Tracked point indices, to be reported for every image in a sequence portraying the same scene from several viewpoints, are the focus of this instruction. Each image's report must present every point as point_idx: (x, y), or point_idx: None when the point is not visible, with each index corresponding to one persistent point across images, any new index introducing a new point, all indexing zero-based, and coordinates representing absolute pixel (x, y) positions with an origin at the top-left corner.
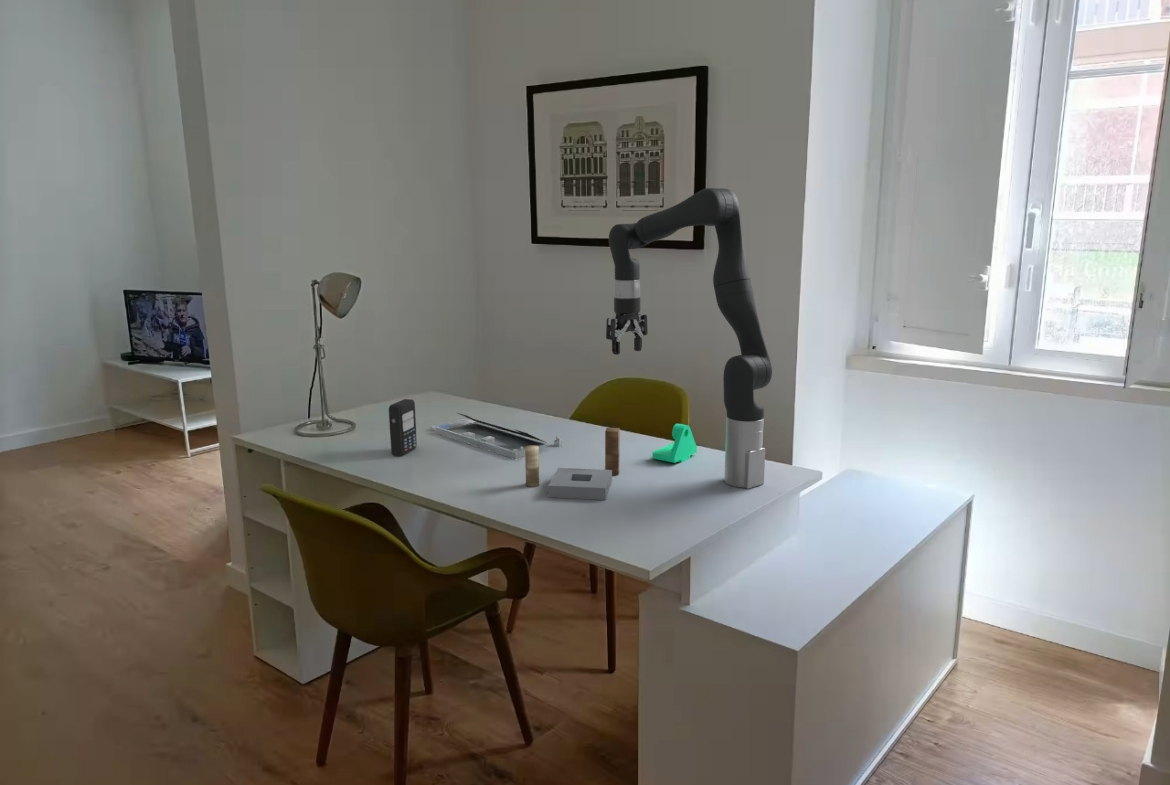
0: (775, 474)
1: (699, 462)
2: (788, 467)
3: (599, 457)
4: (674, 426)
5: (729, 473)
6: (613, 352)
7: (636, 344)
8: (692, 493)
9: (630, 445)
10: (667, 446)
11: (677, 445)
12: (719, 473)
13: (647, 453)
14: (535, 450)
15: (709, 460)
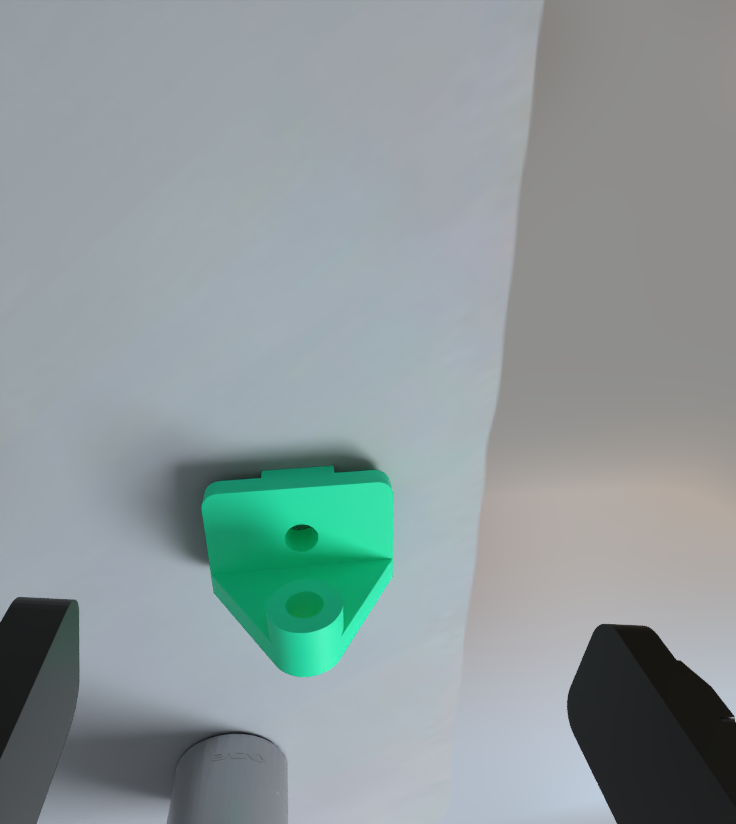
0: (360, 783)
1: None
2: (443, 774)
3: (60, 270)
4: (282, 631)
5: (170, 802)
6: (9, 623)
7: (646, 757)
8: None
9: (336, 267)
10: (325, 493)
11: (238, 618)
12: (257, 697)
13: (281, 405)
14: None
15: None
